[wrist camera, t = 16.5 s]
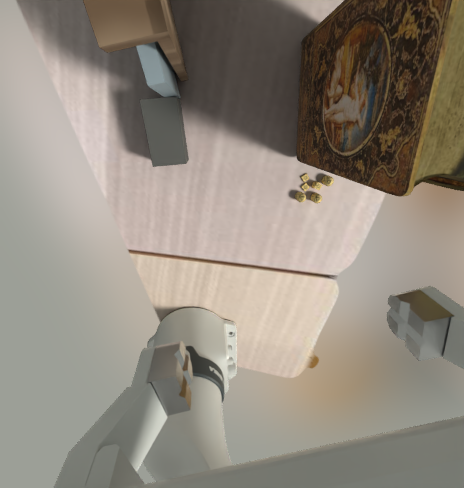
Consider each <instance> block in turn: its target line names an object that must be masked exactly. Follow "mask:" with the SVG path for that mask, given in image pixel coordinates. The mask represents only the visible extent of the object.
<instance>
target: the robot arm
mask: <svg viewBox="0 0 464 488" xmlns="http://www.w3.org/2000/svg"><path fill="white" fill-rule="evenodd" d="M388 304H389V305H390V306H391V309H390V310H389V311H388V312H387V321H388V324H389V327H390V329H391V330H392V332H393V333H394V334H395V335H396V336H397V337H398V338H400V339H403V340H405V346H406V348H407V349H408V350H409V351H410V352H411V353H412V354H413V355H414V356H415V357H416V359H417V360H418V361H421V360H426V359H431V358H437V357H443V358H444V359H446V360H448V361H450V362H452V363H454V364H455V365H457V366H459V367H461V368H463V369H464V308H463V307H461V306H460V305H459V304H457V303H456V302H454V301H453V300H451V299H450V298H449V297H447V296H446V295H444V294H443V293H441V292H440V291H439V290H437V289H436V288H434V287H431V286H428V287H424V288H419V289H416V290H411V291H407V292H403V293H398V294H394V295H390V297H389V298H388ZM147 347H148V348H144V349H143V351H142V352H141V355H140V359H139V362H138V365H137V368H136V372H135V375H134V378H133V382H132V385H131V387H128V388H126V390H124V392H123V393H122V394H121V395H120V396H119V397H118V398H117V399H116V400H115V402H114V403H113V404H112V405H111V406H110V407H109V408H108V409H107V410H106V412H105V413H104V414H103V415H102V416H101V417H100V418H99V420H98V421H97V422H96V423H95V424H94V425H93V426H92V427H91V428H90V430H89V431H88V432H87V433H86V434H85V435H84V436H83V437H82V438H81V439H80V441H79V442H78V443H77V444H76V445H75V446H74V447H73V448H72V449H71V451H70V452H69V453H68V456H67V458H66V460H65V462H64V465H63V467H62V470H61V472H60V474H59V476H58V479H57V481H56V484H55V486H54V488H464V416H461V417H456V418H452V419H447V420H442V421H438V422H433V423H428V424H424V425H419V426H414V427H409V428H405V429H400V430H395V431H391V432H386V433H381V434H376V435H372V436H367V437H362V438H358V439H353V440H348V441H344V442H339V443H334V444H329V445H325V446H320V447H315V448H311V449H306V450H301V451H297V452H292V453H287V454H283V455H278V456H273V457H269V458H264V459H259V460H255V461H250V462H245V463H240V464H236V465H233V464H232V462H231V459H230V457H229V453H228V449H227V444H226V439H225V431H224V423H223V411H222V402H223V399H224V394H225V393H226V392H227V391H228V389H229V387H228V380H230V379H231V378H233V377H234V376H235V375H236V373H237V325H236V324H235V323H234V322H232V321H228V320H224V319H222V318H220V317H219V316H217V315H216V314H214V313H213V312H211V311H208V310H205V309H201V308H184V309H180V310H177V311H174V312H172V313H170V314H169V315H167V316H166V317H165V318H164V319H163V320H162V321H161V323H160V324H159V326H158V329H157V332H156V334H155V335H154V336H153V337H152V338H150V340H149V341H148V345H147ZM142 461H143V462H144V465H145V467H146V469H147V471H148V472H149V473H150V474H151V476H152V477H153V478H154V479H155V480H156V482H152V483H147V484H144V482H143V481H142V479H141V478H140V476H139V475H138V474H137V470H138V469H139V467H140V465H141V463H142Z"/></svg>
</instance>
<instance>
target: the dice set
mask: <svg viewBox="0 0 464 488" xmlns="http://www.w3.org/2000/svg"><path fill="white" fill-rule="evenodd" d="M301 178H302V180H303V182H305V181H307V180H308V179H309V177H308V175H307V174H304V175H303V176H301ZM333 181H334V179H333V178H332V177H330V176H324V177H323V178H322V183H323V184H324V185H326V186H331V185H332V184H333ZM301 187H302V189H303V190H304V191H306V190H307V189H308V188H309V186H308V185H307V183H305V184H303V185H302V186H301ZM321 187H322V185H321V184H320V183H319V182H316V181H315V182H313V184H312V188H316V189H317V190H320V188H321ZM295 198H296V199H297V200H298V201H299V202H304V201H305V200H306V195H305V194H304V193H302V192H297V193H296V194H295ZM311 200H312V201H313V202H315V203H320V202H321V200H322V196H320V195H319V194H317V193H313V194H312V195H311Z"/></svg>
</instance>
